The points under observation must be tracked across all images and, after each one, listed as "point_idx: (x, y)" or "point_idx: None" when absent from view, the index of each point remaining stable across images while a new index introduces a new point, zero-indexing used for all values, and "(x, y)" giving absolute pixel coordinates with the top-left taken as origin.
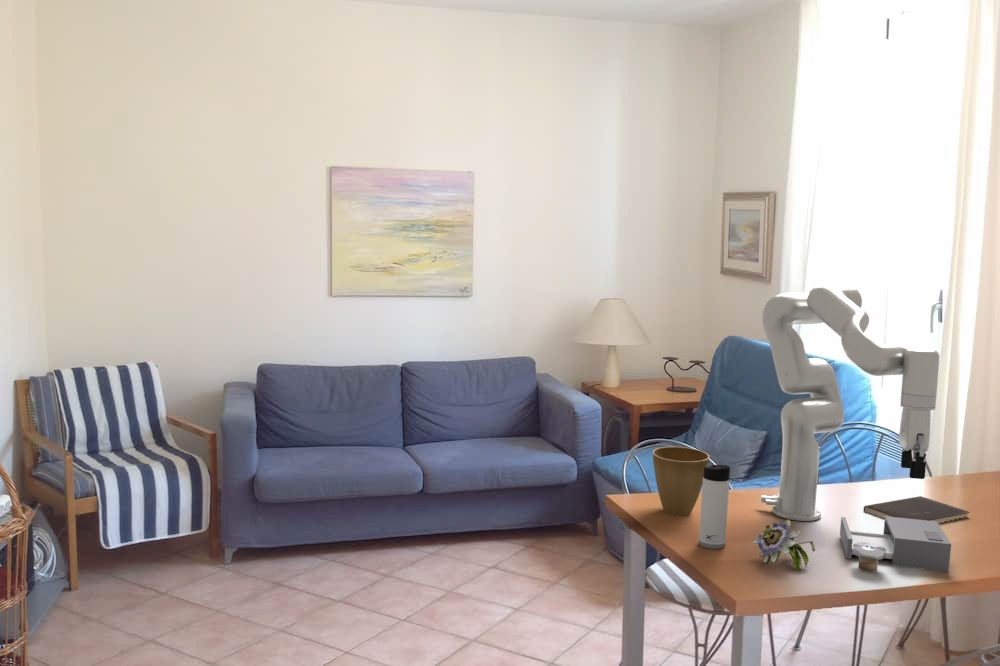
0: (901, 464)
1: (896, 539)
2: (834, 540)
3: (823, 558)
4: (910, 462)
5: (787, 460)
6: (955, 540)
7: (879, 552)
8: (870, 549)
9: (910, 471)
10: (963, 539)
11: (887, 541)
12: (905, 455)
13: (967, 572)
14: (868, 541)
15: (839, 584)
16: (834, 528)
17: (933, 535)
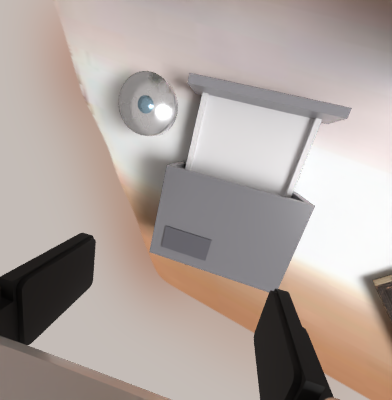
0: (279, 297)
1: (166, 167)
2: (307, 97)
3: (202, 41)
4: (263, 344)
5: None
6: (301, 312)
7: (122, 115)
8: (135, 102)
9: (62, 244)
10: (306, 326)
11: (263, 188)
12: (282, 362)
13: None
14: (262, 151)
15: (90, 38)
16: (388, 123)
17: (185, 243)
